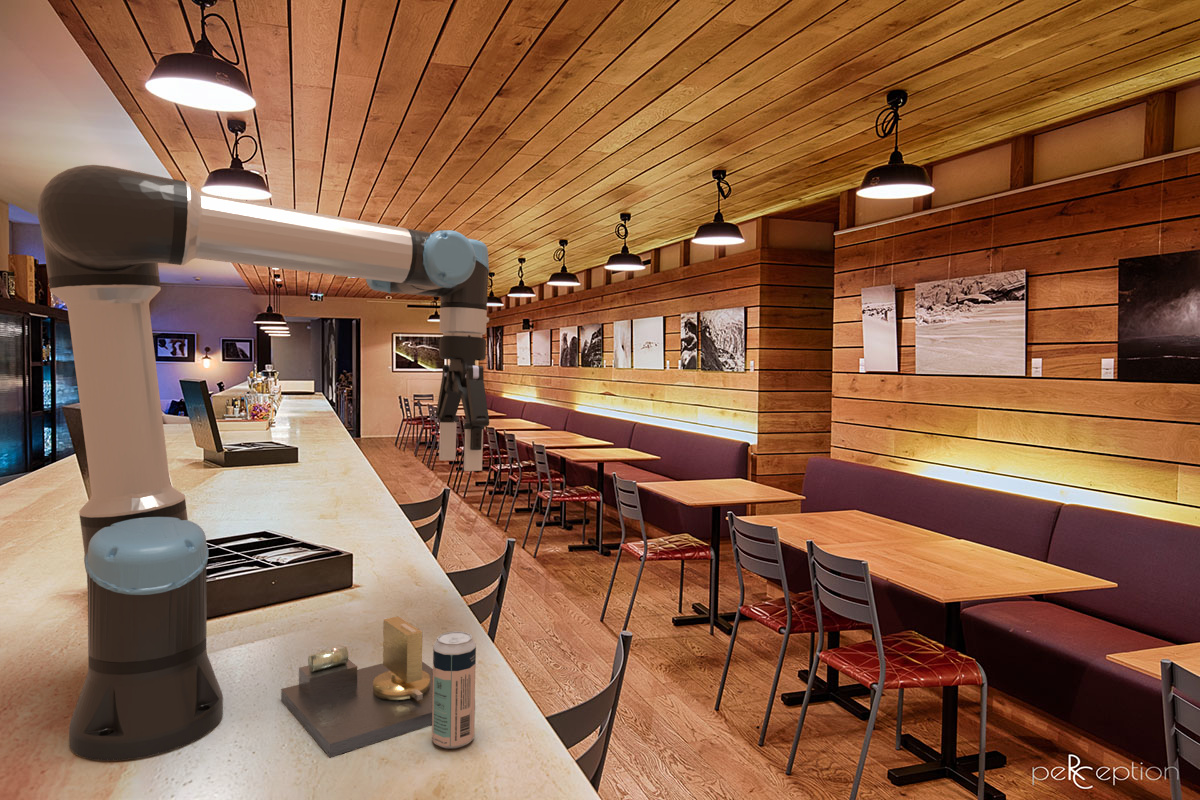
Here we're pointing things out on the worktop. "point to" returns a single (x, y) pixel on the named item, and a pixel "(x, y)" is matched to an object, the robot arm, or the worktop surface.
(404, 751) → the worktop surface
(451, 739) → the beer can
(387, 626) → the gold disc with bar
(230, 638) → the worktop surface
